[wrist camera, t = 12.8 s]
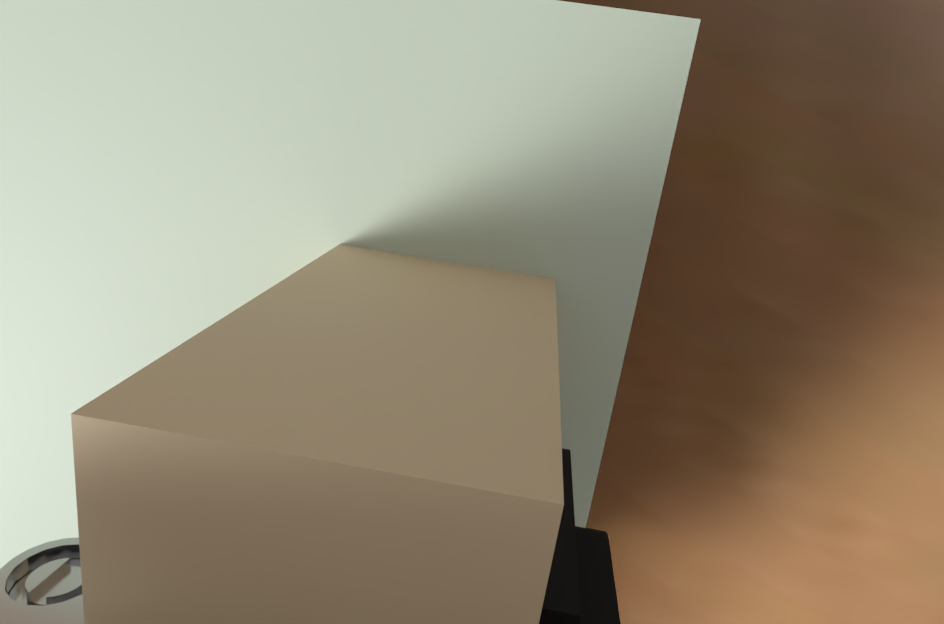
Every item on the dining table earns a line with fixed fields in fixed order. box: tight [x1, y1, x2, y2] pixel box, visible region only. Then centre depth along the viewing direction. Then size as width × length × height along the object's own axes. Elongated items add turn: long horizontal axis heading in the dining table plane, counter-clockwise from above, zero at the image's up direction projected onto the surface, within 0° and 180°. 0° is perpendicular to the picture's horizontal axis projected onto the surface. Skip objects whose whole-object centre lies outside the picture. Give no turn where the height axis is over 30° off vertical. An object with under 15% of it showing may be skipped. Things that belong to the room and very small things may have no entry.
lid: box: [0, 0, 701, 624], centre depth 10 cm, size 15×17×8 cm
